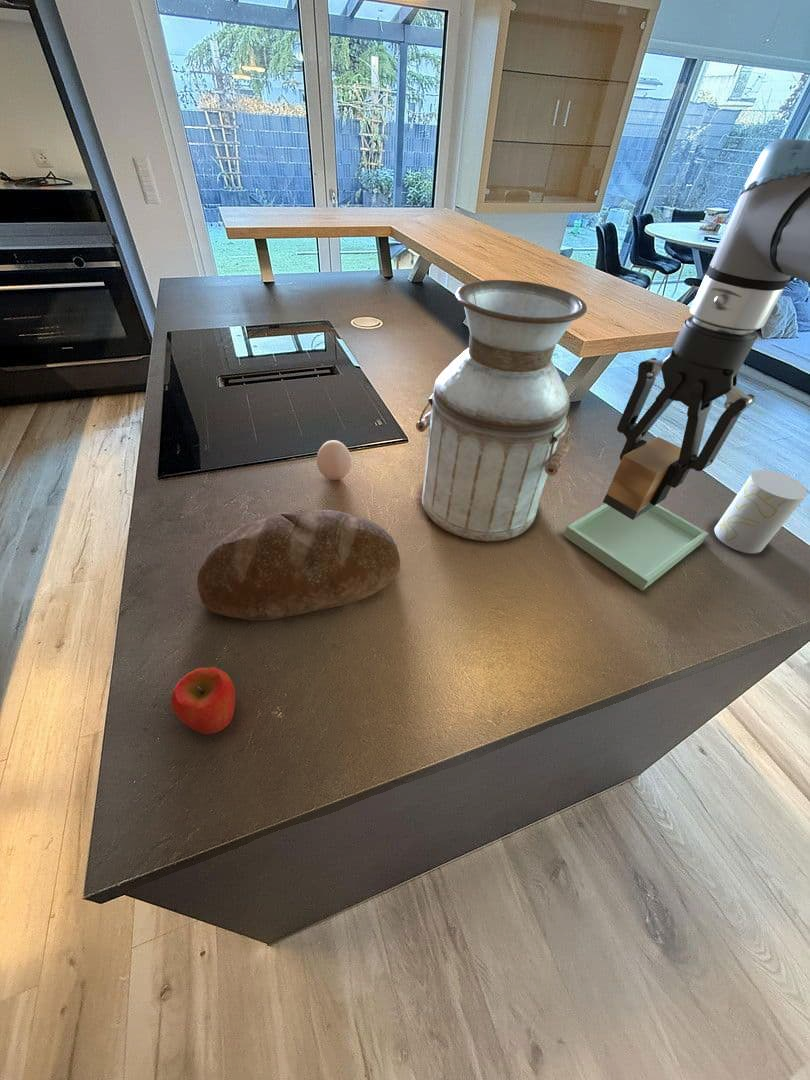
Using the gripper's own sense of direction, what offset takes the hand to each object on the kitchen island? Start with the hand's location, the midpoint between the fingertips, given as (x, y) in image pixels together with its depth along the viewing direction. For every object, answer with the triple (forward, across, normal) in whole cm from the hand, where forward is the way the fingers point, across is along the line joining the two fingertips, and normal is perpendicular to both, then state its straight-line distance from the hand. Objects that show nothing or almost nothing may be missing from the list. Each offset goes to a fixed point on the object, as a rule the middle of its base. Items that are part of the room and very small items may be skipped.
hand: (639, 490), depth 67 cm
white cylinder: (+15, +11, +26) cm, 32 cm away
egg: (+15, -46, -24) cm, 54 cm away
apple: (+15, -12, -62) cm, 65 cm away
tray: (+15, 0, +9) cm, 18 cm away
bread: (+15, -25, -42) cm, 51 cm away
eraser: (+2, 0, 0) cm, 2 cm away
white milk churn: (+15, -23, -6) cm, 29 cm away
